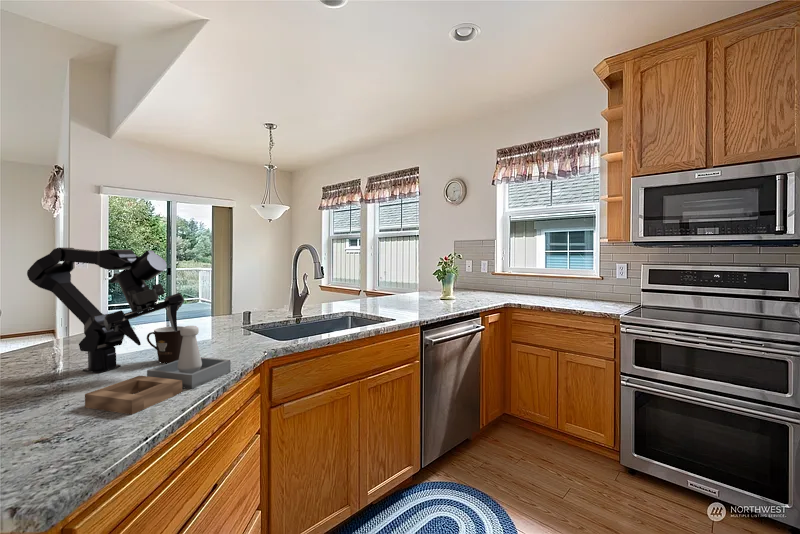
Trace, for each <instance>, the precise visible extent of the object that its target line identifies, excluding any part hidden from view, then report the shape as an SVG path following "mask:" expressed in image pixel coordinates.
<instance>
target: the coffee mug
mask: <svg viewBox="0 0 800 534" xmlns="http://www.w3.org/2000/svg"><path fill="white" fill-rule="evenodd" d="M183 327H184V326H181V325H180V326H179V325H177V332H175V331H174V329H173V328H172V326H163V327H159V328H155V329H154V330H153V331H150V332H149V333H148V334H147V335H146V341H147V343H148V344H149V345H150V346H151V347H153V349H155V350H156V352H157V358H158V363H159V362H161V363H160V364H163V363H167V364H168V363H171V362H174V361H177V360H179V355H180V350H181V344H182V339H183V336H181V334H180V330H181V328H183ZM151 335H154V339H155V345H154V344H153V343H152V341H151V340H150V336H151Z"/></svg>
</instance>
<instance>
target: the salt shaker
mask: <svg viewBox="0 0 800 534" xmlns="http://www.w3.org/2000/svg"><path fill="white" fill-rule="evenodd" d="M199 331H200V330H199V327H198V326H196V325H186V326H185V325H184V326H183V328H181V330H180V334H181V336H183V339H182V344H181V350H180V355H179V360H178V366H177V367H178V370H179V372H181V373H191V374H192V373H195V372H197V371H199V370H200V368H201V366H202V361H201V357H202V356H201V353H200V349H199V344H198V340H197V335H199Z"/></svg>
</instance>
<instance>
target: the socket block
mask: <svg viewBox="0 0 800 534" xmlns="http://www.w3.org/2000/svg"><path fill="white" fill-rule="evenodd" d="M181 392H182V393H183V388H182V380H175V379H167V378H158V377H149V376H147V375H137V376H135V377H134V376H133V377H131V378H129V379H126V380H122V381H119V382H117V383H114V384H111V385H110V384H109V385H107V386H104V387H102V388H98V389H95V390H93V391H90V392H87V393H85V394H84V408H86V409H92V410H100V411H105V412H106V411H107V412H113V413H119V414H127V415H134V414H136V413H138V412H142V411H143V410H144V411H145V409H147V408H150V407H152V406H155V405H156V404H159V403H162V402H163V401H166V400H168V398H169V399H171V398H173V397H175V396H178V395H180V394H182V393H181ZM179 393H180V394H179ZM177 394H178V395H177ZM172 396H173V397H172ZM170 397H171V398H170Z"/></svg>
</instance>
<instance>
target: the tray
mask: <svg viewBox="0 0 800 534" xmlns="http://www.w3.org/2000/svg"><path fill="white" fill-rule="evenodd" d="M200 357H201V361H202V366H201V368H200V370H199V371H197V372H195V373H192V374H191V373H181V372H179V370H178V367H177V366H178V360H177V361H174V362H171V363H167V364H162V365H159V366H155V367H153V368H151V369H147V370H146V376H149V377H158V378H167V379H175V380H182V389H190V390H193V389H196V388H197V387H200V386H202V385H204V384H207V383H209V382H211V381H214V380H216V379H219V378H220V377H223V376H225V375H227V374H229V373H231V367H232V366H231V359H227V358H226V359H222V358H213V357H205V356H200Z"/></svg>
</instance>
